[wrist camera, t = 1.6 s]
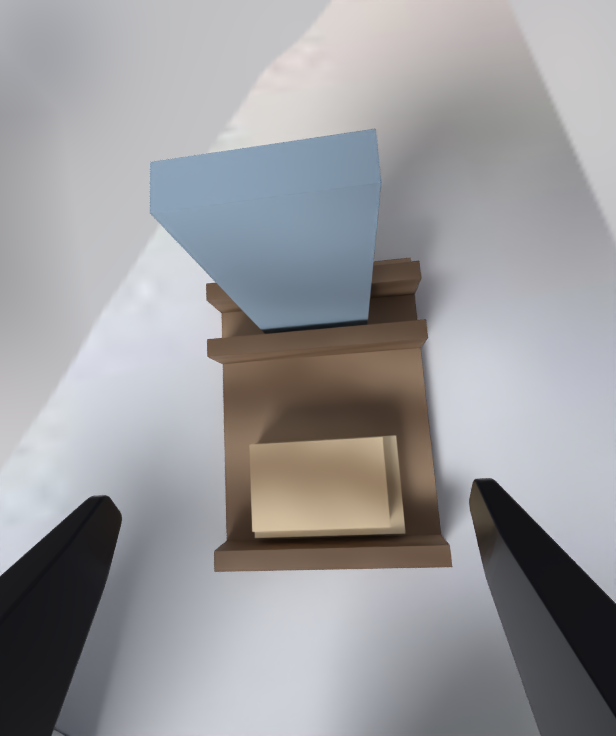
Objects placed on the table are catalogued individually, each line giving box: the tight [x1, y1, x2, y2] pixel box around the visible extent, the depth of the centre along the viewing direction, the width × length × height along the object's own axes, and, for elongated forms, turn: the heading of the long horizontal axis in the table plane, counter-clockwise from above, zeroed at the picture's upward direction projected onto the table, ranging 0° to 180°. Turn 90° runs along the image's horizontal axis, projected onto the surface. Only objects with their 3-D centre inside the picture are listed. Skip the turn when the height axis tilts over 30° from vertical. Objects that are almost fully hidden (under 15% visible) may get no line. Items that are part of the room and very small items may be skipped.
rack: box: [206, 258, 452, 572], centre depth 22 cm, size 17×12×3 cm
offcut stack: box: [249, 435, 405, 538], centre depth 21 cm, size 5×8×2 cm, turn 93°
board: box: [150, 129, 381, 334], centre depth 17 cm, size 2×6×14 cm, turn 93°
